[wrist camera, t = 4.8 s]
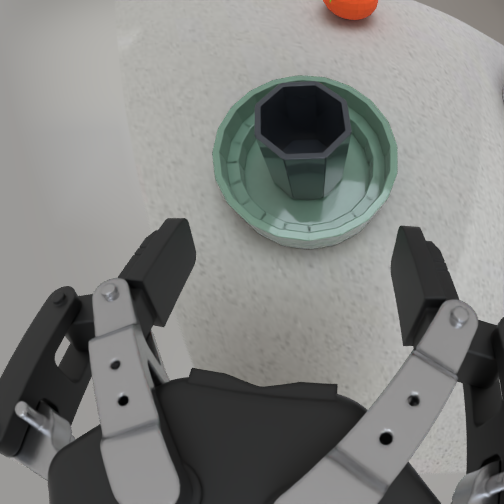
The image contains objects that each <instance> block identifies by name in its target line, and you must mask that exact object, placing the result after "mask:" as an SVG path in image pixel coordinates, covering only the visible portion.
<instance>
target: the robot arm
mask: <svg viewBox="0 0 504 504" xmlns="http://www.w3.org/2000/svg"><path fill="white" fill-rule="evenodd" d="M195 260H196V250H195V246H194V242H193V238H192V234H191V230H190V226H189V222H188V220H187V219H185V218H168V219H166V220H165V222H164V223H163V224H162V226H161V227H160V228H159V230H156V231H154V232H153V233H152V234H150V235H149V236H148V237H146V238H145V240H144V241H143V243H142V244H141V245H140V248H138V250H137V251H136V252H135V255H133V256H132V258H131V259H130V261H129V262H128V263H127V265H126V266H125V268H124V269H123V271H122V272H121V273H120V275H119V276H118V278H113V279H109V280H107V281H105V282H103V283H102V284H100V285H99V286H98V287H97V288H96V290H95V291H94V293H93V294H90V295H84V296H78V295H77V294H76V292H75V290H74V289H73V288H72V287H69V286H66V287H61V288H59V289H57V290H55V291H54V292H53V293H52V294H51V295H50V296H49V297H48V299H47V300H46V302H45V303H44V305H43V306H42V308H41V310H40V311H39V312H38V314H37V315H36V317H35V319H34V320H33V322H32V323H31V325H30V327H29V328H28V330H27V331H26V333H25V335H24V336H23V338H22V340H21V342H20V343H19V345H18V347H17V348H16V350H15V352H14V354H13V355H12V357H11V359H10V361H9V363H8V365H7V366H6V369H5V370H4V372H3V374H2V376H1V378H0V453H1V454H3V455H4V456H6V457H8V458H10V459H12V460H14V461H16V462H17V463H19V464H21V465H24V466H26V467H27V468H29V469H30V470H32V471H33V472H35V473H36V474H38V475H39V476H41V477H42V478H44V479H45V480H47V481H48V489H49V501H50V504H441V503H440V501H439V500H438V499H437V498H436V496H435V495H434V494H433V493H432V491H431V490H430V489H429V488H428V486H427V485H426V484H425V482H424V481H423V480H422V478H421V477H420V476H419V475H418V473H417V472H416V471H415V469H414V468H413V467H412V466H411V464H410V463H409V462H408V461H409V460H410V458H411V457H412V456H413V454H414V453H415V451H416V450H417V448H418V447H419V446H420V444H421V443H422V441H423V440H424V438H425V437H426V435H427V434H428V432H429V430H430V429H431V427H432V426H433V424H434V422H435V421H436V419H437V417H438V416H439V414H440V412H441V411H442V409H443V407H444V405H445V404H446V402H447V400H448V398H449V396H450V394H451V392H452V391H453V389H454V387H455V385H456V383H457V382H461V383H463V390H464V400H465V412H466V430H467V472H466V476H464V477H463V478H462V479H461V480H460V482H459V483H458V485H457V487H456V489H455V492H454V494H453V497H452V503H451V504H504V317H503V318H502V319H501V320H500V322H499V323H498V325H494V324H490V323H487V322H484V321H480V320H478V317H477V315H476V313H475V311H474V310H473V309H472V307H471V306H469V305H468V304H467V303H465V302H463V301H460V300H459V298H458V295H457V292H456V289H455V287H454V284H453V281H452V279H451V276H450V273H449V271H448V268H447V266H446V263H444V259H443V256H442V254H441V251H440V250H439V249H438V248H437V247H436V246H435V245H434V244H433V243H432V241H426V240H425V238H424V236H423V233H422V231H421V229H420V227H412V226H400V227H399V230H398V234H397V238H396V243H395V247H394V251H393V255H392V260H391V277H392V282H393V287H394V292H395V297H396V303H397V308H398V314H399V320H400V327H401V334H402V341H403V346H413V348H414V349H413V351H412V352H411V354H410V355H409V357H408V358H407V359H406V361H405V362H404V364H403V365H402V367H401V368H400V369H399V371H398V372H397V374H396V375H395V376H394V378H393V379H392V380H391V382H390V383H389V384H388V386H387V387H386V388H385V390H384V391H383V392H382V394H381V395H380V396H379V397H378V399H377V400H376V401H375V402H374V404H373V405H372V406H371V407H370V408H369V410H367V409H366V408H364V407H363V406H362V405H360V404H359V403H357V402H355V401H354V400H352V399H350V398H347V397H345V396H342V395H339V394H337V384H323V383H306V382H298V383H291V384H283V385H275V386H267V387H259V386H256V385H253V384H251V383H248V382H245V381H243V380H240V379H238V378H235V377H233V376H230V375H228V374H225V373H219V372H213V371H207V370H201V369H196V368H192V369H191V372H190V375H189V377H187V378H180V379H175V380H171V381H170V380H169V378H168V376H167V373H166V371H165V368H164V365H163V362H162V359H161V356H160V353H159V350H158V347H157V343H156V340H155V337H154V334H153V332H152V330H151V328H152V326H153V325H155V326H160V327H164V326H165V324H166V322H167V320H168V318H169V315H170V314H171V312H172V310H173V307H174V305H175V303H176V301H177V299H178V297H179V295H180V293H181V291H182V289H183V287H184V285H185V283H186V281H187V279H188V277H189V275H190V273H191V271H192V269H193V267H194V264H195ZM64 336H66V338H67V339H68V340H69V341H70V345H69V347H68V349H67V351H66V353H65V355H64V357H63V359H62V361H61V362H60V364H59V366H58V367H57V365H56V363H55V353H56V351H57V349H58V347H59V345H60V344H61V342H62V340H63V338H64ZM91 376H92V379H93V386H94V392H95V397H96V404H97V409H98V414H99V419H100V424H99V425H98V426H97V427H95V428H93V429H92V430H90V431H88V432H87V433H85V434H84V435H82V436H80V437H79V438H77V439H76V440H75V438H74V436H73V435H72V430H71V424H72V422H73V419H74V416H75V414H76V412H77V409H78V407H79V404H80V402H81V399H82V397H83V395H84V393H85V390H86V388H87V385H88V383H89V381H90V379H91ZM499 379H500V382H499ZM500 385H501V388H500ZM501 391H502V395H501Z"/></svg>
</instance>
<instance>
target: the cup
mask: <svg viewBox="0 0 504 504" xmlns="http://www.w3.org/2000/svg"><path fill="white" fill-rule="evenodd" d="M351 133H352V130H351V123H350V117H349V111H348V105H347V101H346V100H345V99H344V98H342V97H341V96H339V95H338V94H336V93H335V92H333V91H332V90H330V89H329V88H327V87H326V86H324V85H323V84H321V83H319V82H317V81H306V82H287V83H281V84H279V85H278V86H276V87H275V88H274V89H273V90H272V91H270V92H269V93H268V94H267V95H266V96H264V97H263V98H262V99H261V100H260V101H259V102H258V103H256V105H255V130H254V136H255V138H256V140H257V143H258V145H259V148H260V150H261V153H262V155H263V157H264V160H265V162H266V165H267V167H268V170H269V172H270V175H271V177H272V180H273V181H274V182H275V183H276V184H277V185H278V186H279V187H280V189H281V190H282V191H283V192H285V193H286V194H287V195H289V196H290V197H292V198H294V199H299V200H315V199H319V198H324V197H325V196H326V195H327V194H329V193H330V192H331V191H332V190H333V189H334V188H335V186H336V185H337V183H338V182H339V181H340V180H341V179H342V176H343V172H344V167H345V162H346V158H347V153H348V148H349V143H350V138H351Z"/></svg>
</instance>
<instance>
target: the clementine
mask: <svg viewBox="0 0 504 504" xmlns="http://www.w3.org/2000/svg"><path fill="white" fill-rule="evenodd" d="M323 2H324V3H325V5H326V6H327V8H328V9H329V10H330V11H332V12H333V13H334V14H335V15H337V16H339V17H342V18H345V19H350V20H360V19H364V18H366V17H367V16H369V15H371V14H372V13H373V11H374V10H375V9H376V7H377V3H378V0H323Z"/></svg>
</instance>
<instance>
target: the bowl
mask: <svg viewBox="0 0 504 504" xmlns="http://www.w3.org/2000/svg"><path fill="white" fill-rule="evenodd" d="M306 81H317V82H319V83H321V84H323V85H324V86H326V87H327V88H329V89H330V90H332V91H333V92H335V93H336V94H338V95H339V96H341V97H342V98H344V99H345V100H346V101H347V105H348V111H349V117H350V123H351V130H352V133H351V138H350V143H349V148H348V153H347V158H346V162H345V167H344V172H343V176H342V179H341V180H340V181H339V182H338V183H337V185H336V186H335V188H334V189H333V190H332V191H331V192H330V193H329V194H327V195H326V196H325V197H324V198H319V199H315V200H299V199H294V198H292V197H290V196H289V195H287V194H286V193H285V192H283V191H282V190H281V189H280V187H279V186H278V185H277V184H276V183H275V182H274V181H273V180H272V177H271V175H270V172H269V170H268V167H267V165H266V162H265V160H264V157H263V155H262V153H261V150H260V148H259V145H258V143H257V140H256V138H255V136H254V130H255V105H256V103H258V102H259V101H260V100H261V99H262V98H263V97H264V96H266V95H267V94H268V93H269V92H270V91H272V90H273V89H274V88H275V87H276V86H278V85H279V84H281V83H287V82H306ZM212 155H213V164H214V173H215V179H216V181H217V183H218V185H219V187H220V189H221V191H222V193H223V195H224V197H225V199H226V201H227V203H228V204H229V205H230V206H231V207H232V208H233V209H234V210H235V211H236V212H237V213H238V214H239V215H240V216H241V217H242V218H243V219H244V220H245V221H246V222H247V223H248V224H249V225H250V226H251V227H252V228H253V229H254V230H255V231H256V232H257V233H259V234H260V235H262V236H264V237H266V238H268V239H270V240H272V241H274V242H276V243H278V244H280V245H282V246H289V247H296V248H303V249H315V248H321V247H326V246H332V245H336V244H339V243H341V242H342V241H344V240H346V239H348V238H350V237H352V236H353V235H355V234H357V233H359V232H360V231H361V230H362V229H363V228H364V227H365V226H366V224H367V223H368V222H369V221H370V220H371V219H372V218H373V217H374V216H375V214H376V213H377V212H378V211H379V209H380V208H381V207H382V205H383V204H384V203H385V202H386V200H387V199H388V197H389V194H390V192H391V189H392V186H393V184H394V181H395V178H396V175H397V144H396V141H395V138H394V136H393V133H392V130H391V128H390V125H389V122H388V121H387V119H386V118H385V117H384V116H383V114H382V113H381V112H380V111H379V109H378V108H377V107H376V106H375V104H374V103H373V102H372V101H371V100H370V99H368V98H367V97H365V96H364V95H363V94H361V93H360V92H358V91H357V90H355V89H354V88H352V87H351V86H349V85H346V84H343V83H340V82H338V81H335V80H332V79H329V78H325V77H316V76H302V75H298V76H292V77H286V78H281V79H276V80H272V81H270V82H268V83H266V84H264V85H261V86H259V87H257V88H255V89H253V90H251V91H249V92H248V93H247V94H246V95H245V96H244V97H242V98H241V99H240V100H239V101H238V102H237V103H236V104H234V105H233V106H232V107H231V109H230V110H229V112H228V113H227V115H226V117H225V118H224V120H223V121H222V123H221V125H220V126H219V128H218V131H217V135H216V139H215V143H214V148H213V152H212Z"/></svg>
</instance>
